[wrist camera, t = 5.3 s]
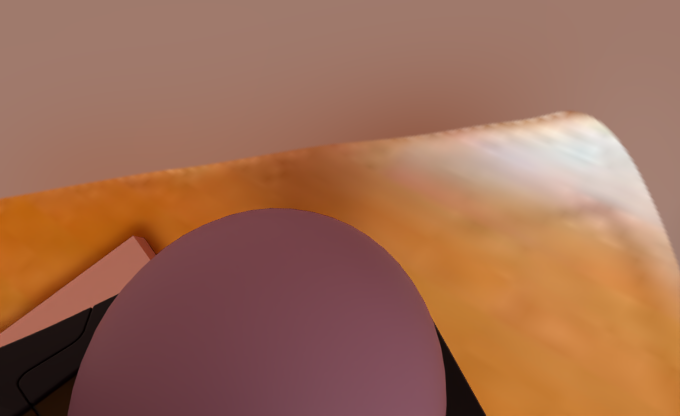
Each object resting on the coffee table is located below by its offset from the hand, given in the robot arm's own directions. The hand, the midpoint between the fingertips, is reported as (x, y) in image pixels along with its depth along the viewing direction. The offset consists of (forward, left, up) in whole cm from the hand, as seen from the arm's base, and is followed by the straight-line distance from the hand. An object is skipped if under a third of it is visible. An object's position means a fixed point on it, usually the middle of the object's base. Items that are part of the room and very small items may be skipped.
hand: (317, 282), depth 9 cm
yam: (-1, -1, -7) cm, 7 cm away
